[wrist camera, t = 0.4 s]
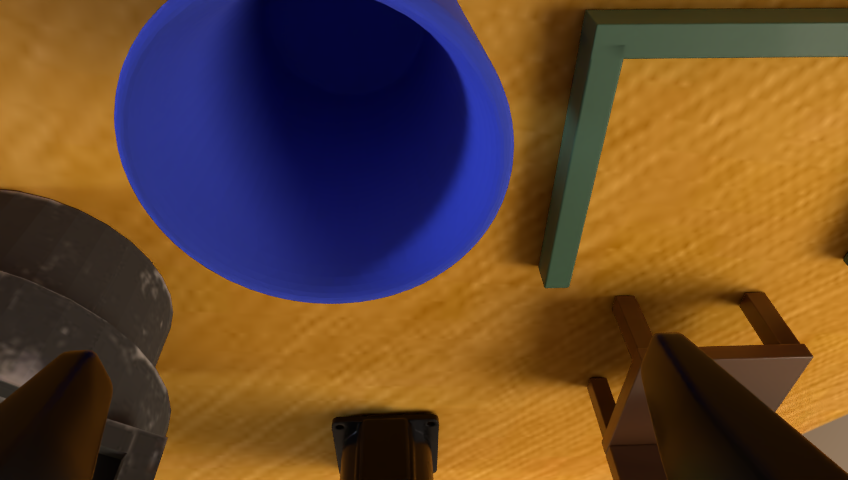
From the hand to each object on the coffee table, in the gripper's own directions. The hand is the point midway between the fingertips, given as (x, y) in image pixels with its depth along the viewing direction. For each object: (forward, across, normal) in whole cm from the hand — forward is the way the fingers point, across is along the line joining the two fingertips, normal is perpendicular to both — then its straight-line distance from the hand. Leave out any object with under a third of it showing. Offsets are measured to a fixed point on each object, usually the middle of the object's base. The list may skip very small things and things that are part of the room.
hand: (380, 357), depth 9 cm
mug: (+14, +1, -3) cm, 15 cm away
